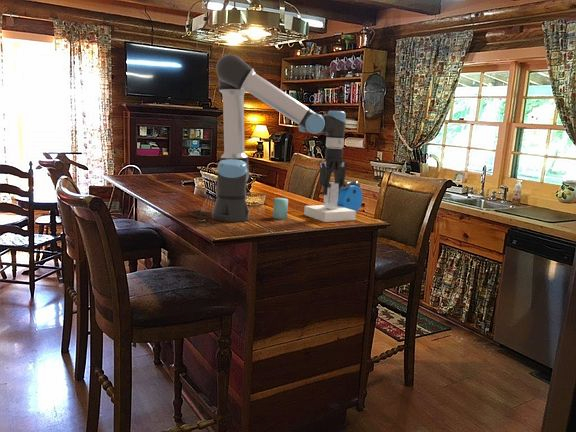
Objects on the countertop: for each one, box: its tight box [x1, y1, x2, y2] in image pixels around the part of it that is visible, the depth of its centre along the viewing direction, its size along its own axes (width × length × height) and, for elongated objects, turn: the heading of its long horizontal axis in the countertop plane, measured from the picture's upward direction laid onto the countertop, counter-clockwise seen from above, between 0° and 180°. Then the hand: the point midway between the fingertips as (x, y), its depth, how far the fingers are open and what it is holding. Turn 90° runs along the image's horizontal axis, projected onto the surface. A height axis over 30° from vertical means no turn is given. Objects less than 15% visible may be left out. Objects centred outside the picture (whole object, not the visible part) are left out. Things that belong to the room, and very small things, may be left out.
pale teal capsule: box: [272, 197, 289, 220], centre depth 208 cm, size 6×6×8 cm
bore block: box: [303, 204, 357, 223], centre depth 216 cm, size 16×16×4 cm
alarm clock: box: [337, 180, 364, 213], centre depth 227 cm, size 13×6×15 cm, turn 131°
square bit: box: [323, 181, 339, 210], centre depth 214 cm, size 4×4×14 cm
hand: (330, 202), depth 215 cm, fingers closed on square bit, 4 cm apart
